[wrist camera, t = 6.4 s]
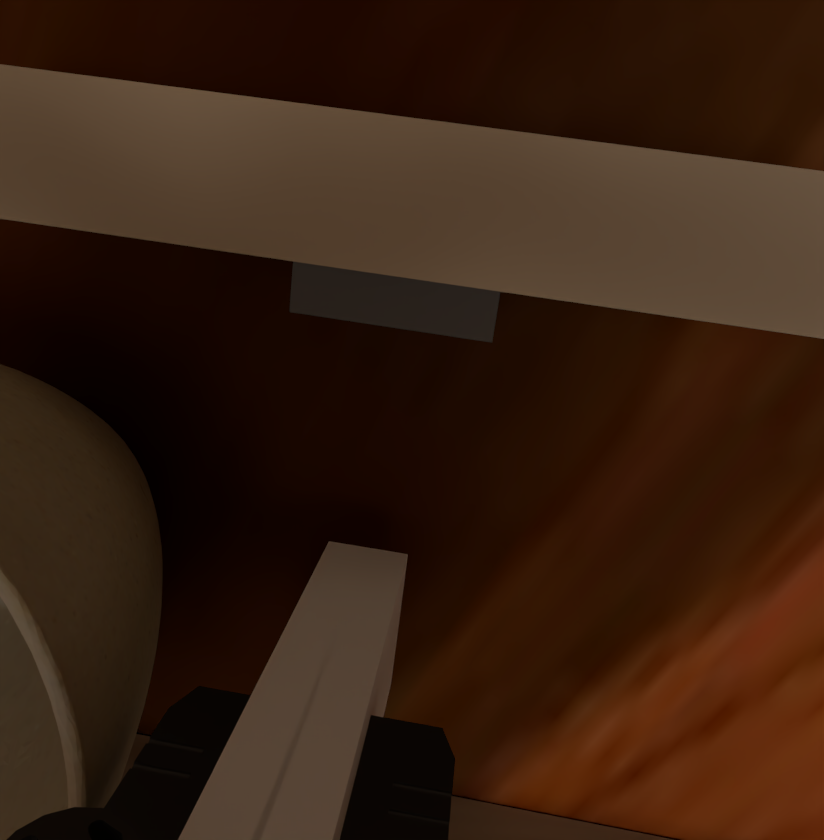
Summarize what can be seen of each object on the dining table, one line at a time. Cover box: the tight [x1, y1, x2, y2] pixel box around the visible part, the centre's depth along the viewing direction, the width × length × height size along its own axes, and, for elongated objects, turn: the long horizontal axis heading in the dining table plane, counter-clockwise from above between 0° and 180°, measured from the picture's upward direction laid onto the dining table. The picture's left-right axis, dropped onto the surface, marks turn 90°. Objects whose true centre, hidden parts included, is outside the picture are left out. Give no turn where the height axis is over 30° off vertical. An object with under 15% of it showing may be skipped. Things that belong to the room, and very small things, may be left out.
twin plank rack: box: [0, 64, 824, 840], centre depth 13 cm, size 16×18×4 cm
